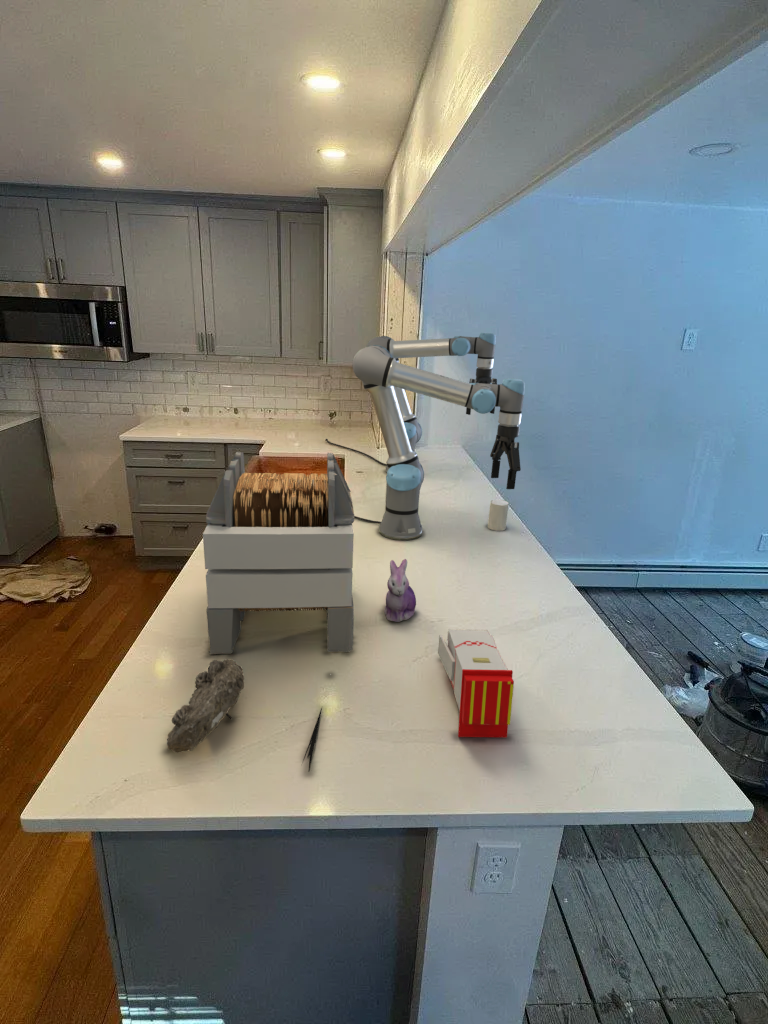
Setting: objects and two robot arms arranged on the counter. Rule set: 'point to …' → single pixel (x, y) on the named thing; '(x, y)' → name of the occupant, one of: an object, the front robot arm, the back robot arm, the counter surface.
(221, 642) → the record storage crate
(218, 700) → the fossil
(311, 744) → the feather
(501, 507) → the cylinder
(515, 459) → the front robot arm
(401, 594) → the figurine
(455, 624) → the counter surface
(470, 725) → the toy
